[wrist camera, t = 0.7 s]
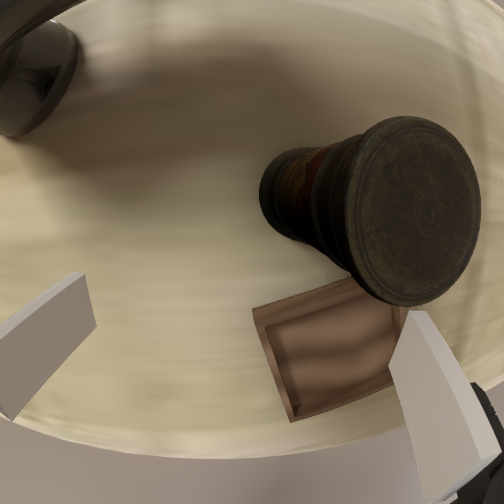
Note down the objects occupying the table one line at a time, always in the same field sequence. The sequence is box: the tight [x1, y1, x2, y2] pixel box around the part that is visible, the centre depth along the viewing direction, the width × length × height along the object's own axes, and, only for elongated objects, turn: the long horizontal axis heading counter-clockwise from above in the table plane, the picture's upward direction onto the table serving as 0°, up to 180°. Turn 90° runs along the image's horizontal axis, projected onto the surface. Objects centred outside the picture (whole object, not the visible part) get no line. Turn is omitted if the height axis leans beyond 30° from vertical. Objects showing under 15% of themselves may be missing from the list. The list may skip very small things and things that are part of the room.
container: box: [259, 116, 481, 307], centre depth 19 cm, size 9×9×18 cm
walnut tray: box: [252, 276, 406, 423], centre depth 31 cm, size 17×17×3 cm
